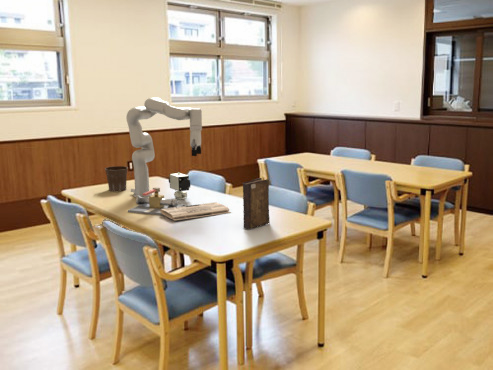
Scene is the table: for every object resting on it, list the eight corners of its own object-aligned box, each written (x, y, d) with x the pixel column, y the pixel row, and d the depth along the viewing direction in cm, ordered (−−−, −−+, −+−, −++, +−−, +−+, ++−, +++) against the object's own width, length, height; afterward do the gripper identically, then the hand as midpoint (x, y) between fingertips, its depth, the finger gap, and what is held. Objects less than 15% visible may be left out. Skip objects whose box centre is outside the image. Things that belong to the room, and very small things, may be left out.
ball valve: (192, 200, 319) (192, 173, 315) (181, 201, 314) (180, 174, 310) (179, 195, 333) (179, 169, 329) (168, 196, 328) (167, 171, 324)
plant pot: (125, 192, 343) (124, 169, 340) (103, 192, 343) (101, 169, 340) (131, 187, 359) (130, 166, 356) (109, 187, 359) (108, 166, 356)
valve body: (136, 206, 297) (135, 191, 295) (141, 204, 302) (140, 189, 300) (173, 209, 289) (172, 194, 287) (178, 207, 294) (177, 192, 292)
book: (248, 230, 251) (248, 183, 246) (239, 227, 256) (238, 181, 251) (270, 224, 262) (271, 178, 257) (261, 221, 267) (261, 177, 262)
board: (126, 212, 288) (126, 210, 288) (148, 203, 311) (148, 200, 311) (166, 216, 280) (165, 213, 279) (185, 206, 303) (185, 203, 302)
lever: (154, 190, 296) (154, 187, 296) (161, 190, 295) (161, 187, 294) (141, 196, 281) (140, 192, 281) (147, 196, 280) (147, 193, 279)
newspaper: (214, 205, 302) (214, 201, 302) (230, 212, 287) (231, 208, 286) (159, 212, 282) (159, 207, 281) (174, 220, 266) (174, 215, 266)
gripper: (194, 126, 315) (194, 152, 318) (186, 129, 298) (186, 156, 302) (205, 127, 314) (205, 153, 317) (197, 129, 297) (198, 157, 300)
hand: (196, 154), depth 309 cm, fingers open, 9 cm apart
